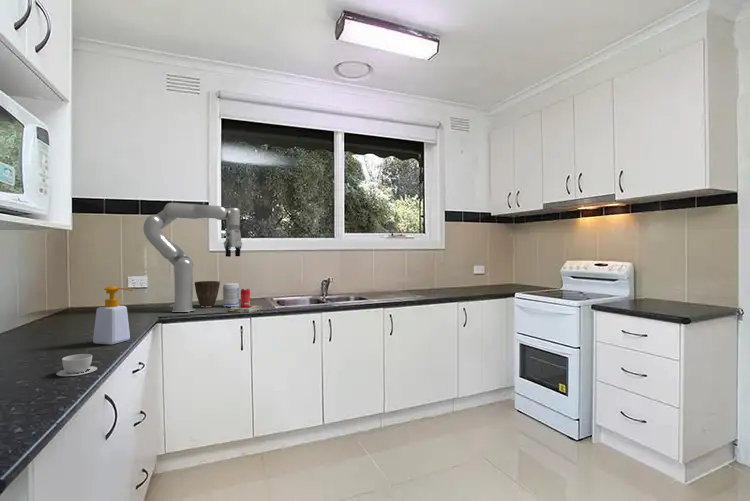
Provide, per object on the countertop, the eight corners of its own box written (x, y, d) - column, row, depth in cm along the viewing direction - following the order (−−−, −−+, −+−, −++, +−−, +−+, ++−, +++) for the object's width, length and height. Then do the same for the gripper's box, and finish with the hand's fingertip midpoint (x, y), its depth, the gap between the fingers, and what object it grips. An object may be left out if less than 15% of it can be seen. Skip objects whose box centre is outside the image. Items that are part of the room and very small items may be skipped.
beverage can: (240, 309, 242) (240, 289, 242) (240, 308, 247) (241, 288, 247) (249, 309, 243) (249, 289, 243) (249, 308, 248) (250, 288, 248)
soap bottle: (121, 346, 155) (122, 287, 155) (91, 344, 158) (91, 286, 158) (140, 340, 165) (141, 285, 164) (111, 339, 167) (111, 284, 167)
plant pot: (201, 305, 266) (201, 280, 266) (223, 305, 266) (223, 281, 266) (189, 308, 252) (190, 282, 251) (213, 309, 251) (213, 282, 251)
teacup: (101, 372, 123) (101, 357, 123) (59, 380, 116) (59, 363, 116) (92, 365, 130) (92, 351, 130) (53, 372, 123) (53, 357, 123)
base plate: (228, 311, 240) (228, 308, 240) (241, 308, 254) (241, 305, 254) (249, 313, 236) (249, 309, 236) (262, 309, 250) (262, 306, 250)
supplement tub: (240, 307, 260) (241, 283, 260) (225, 308, 254) (225, 284, 254) (236, 305, 268) (236, 282, 268) (221, 306, 262) (221, 283, 262)
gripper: (230, 227, 240) (229, 256, 240) (246, 229, 257) (246, 256, 257) (218, 227, 242) (218, 256, 242) (236, 229, 259) (235, 256, 259)
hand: (233, 256), depth 249 cm, fingers open, 9 cm apart
